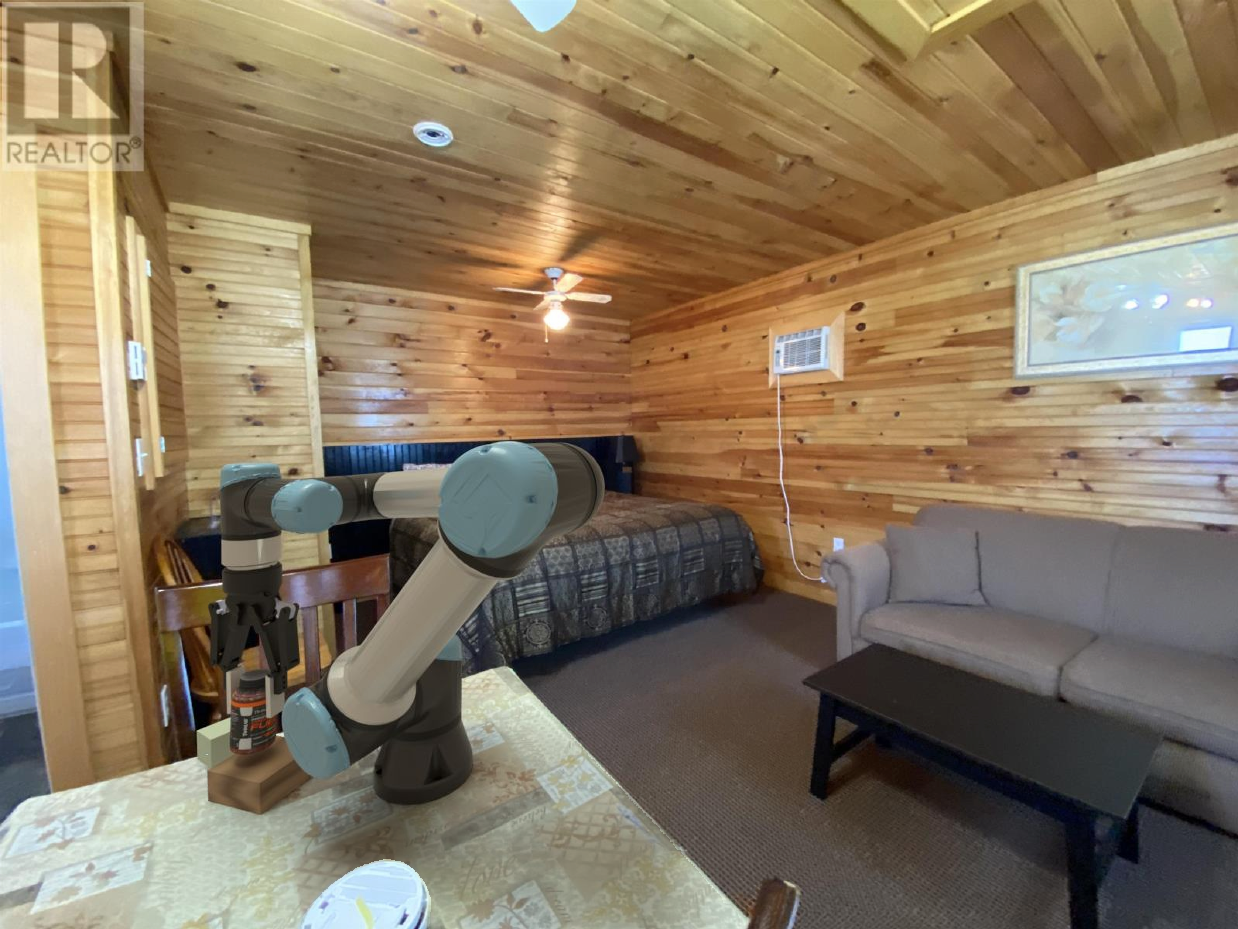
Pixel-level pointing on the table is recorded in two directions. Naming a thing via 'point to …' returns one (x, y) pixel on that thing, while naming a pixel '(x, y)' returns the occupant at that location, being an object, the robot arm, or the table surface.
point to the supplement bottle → (251, 715)
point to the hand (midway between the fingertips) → (256, 711)
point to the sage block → (214, 743)
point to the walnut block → (255, 778)
